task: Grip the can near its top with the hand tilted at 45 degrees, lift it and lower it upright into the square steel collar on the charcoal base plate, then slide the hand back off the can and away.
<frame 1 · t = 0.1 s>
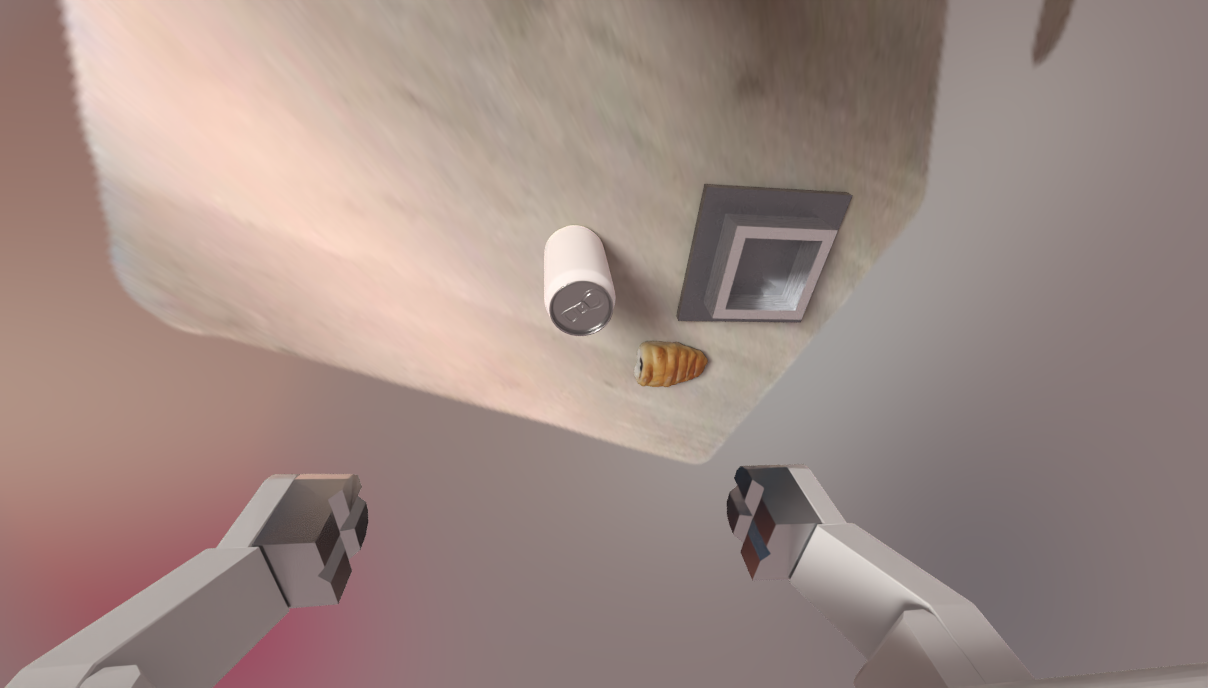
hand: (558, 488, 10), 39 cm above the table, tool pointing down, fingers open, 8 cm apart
collar: (755, 258, 51), on the table
pastry: (663, 356, 59), on the table
can: (574, 251, 48), on the table
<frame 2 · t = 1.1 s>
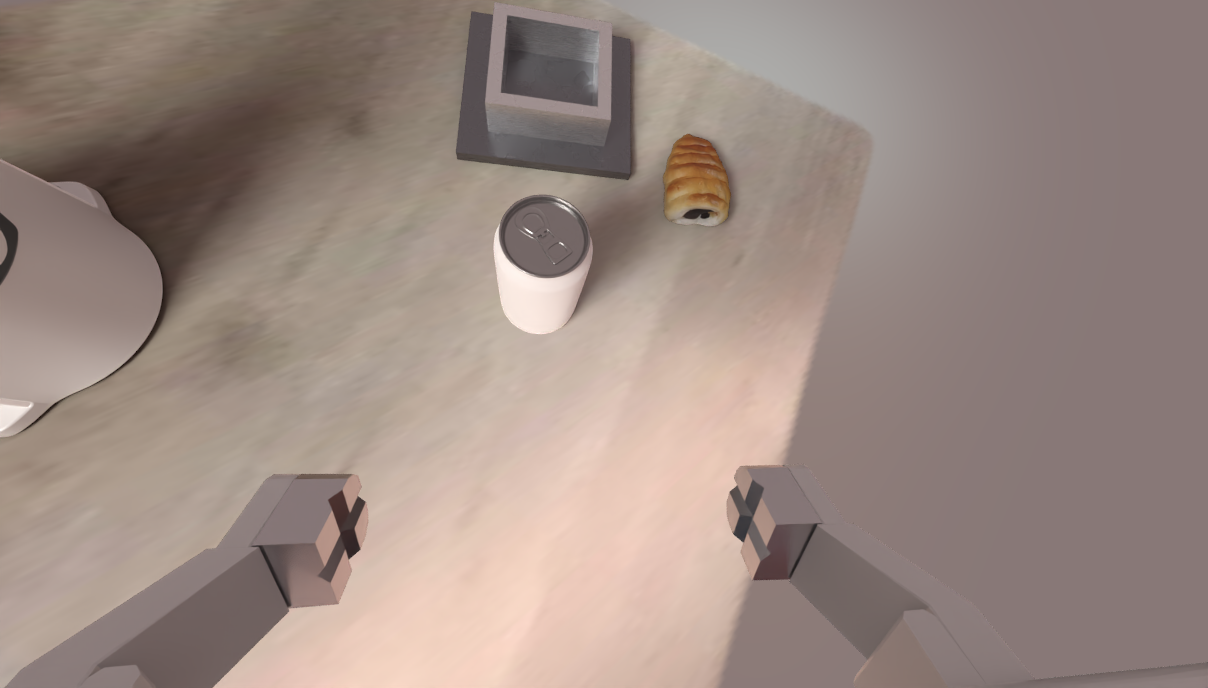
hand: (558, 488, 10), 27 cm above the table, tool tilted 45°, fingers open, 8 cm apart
collar: (549, 99, 44), on the table
pastry: (688, 194, 44), on the table
can: (538, 300, 39), on the table
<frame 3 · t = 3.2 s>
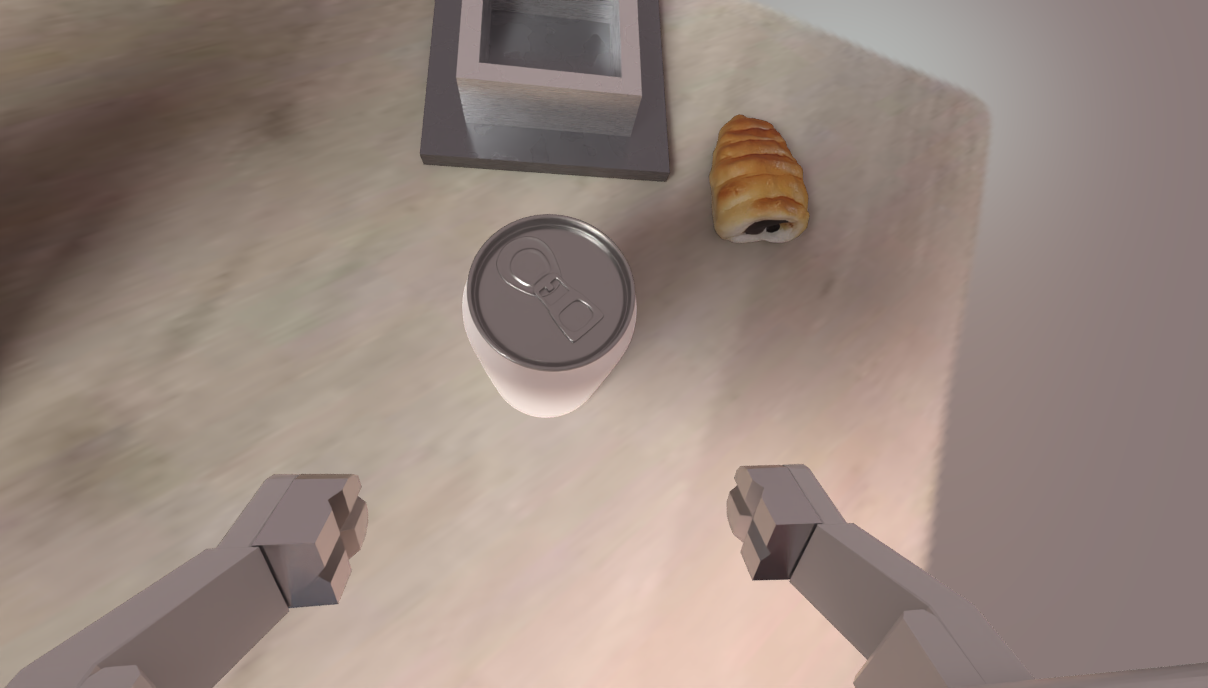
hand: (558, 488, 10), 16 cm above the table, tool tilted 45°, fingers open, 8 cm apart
collar: (550, 75, 31), on the table
pastry: (743, 198, 32), on the table
can: (546, 364, 26), on the table
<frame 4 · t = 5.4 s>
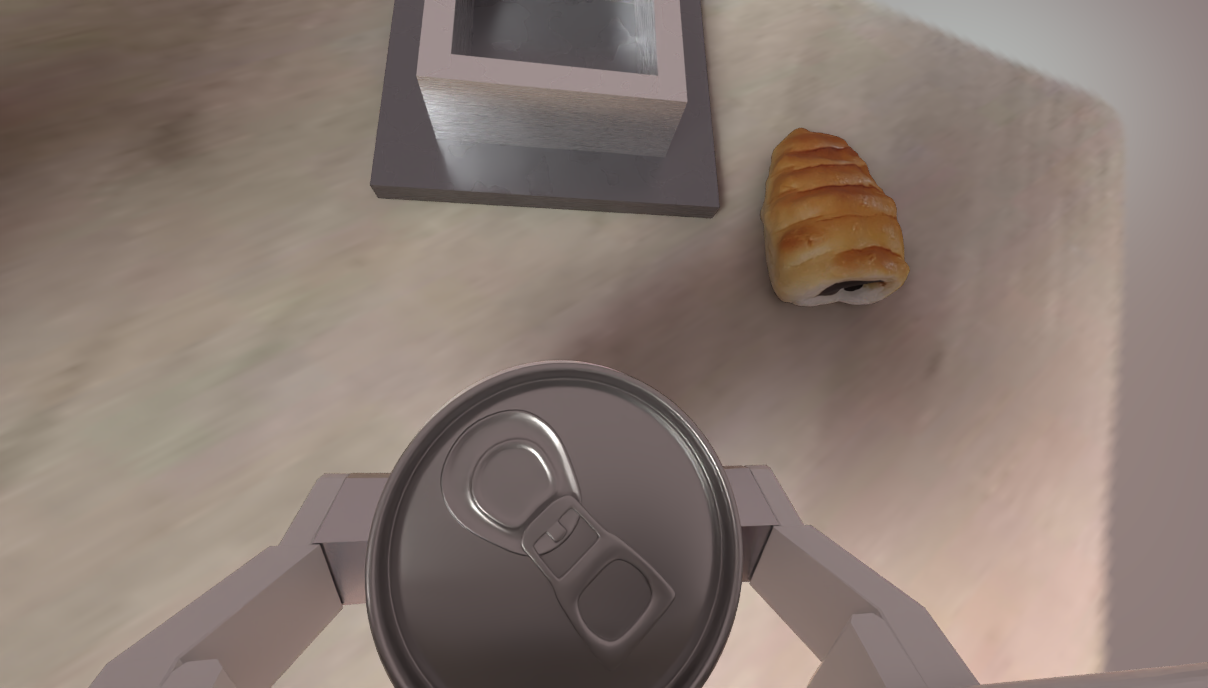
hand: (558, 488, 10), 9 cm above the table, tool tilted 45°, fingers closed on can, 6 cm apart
collar: (555, 74, 23), on the table
pastry: (806, 241, 23), on the table
can: (549, 491, 18), on the table, touching gripper
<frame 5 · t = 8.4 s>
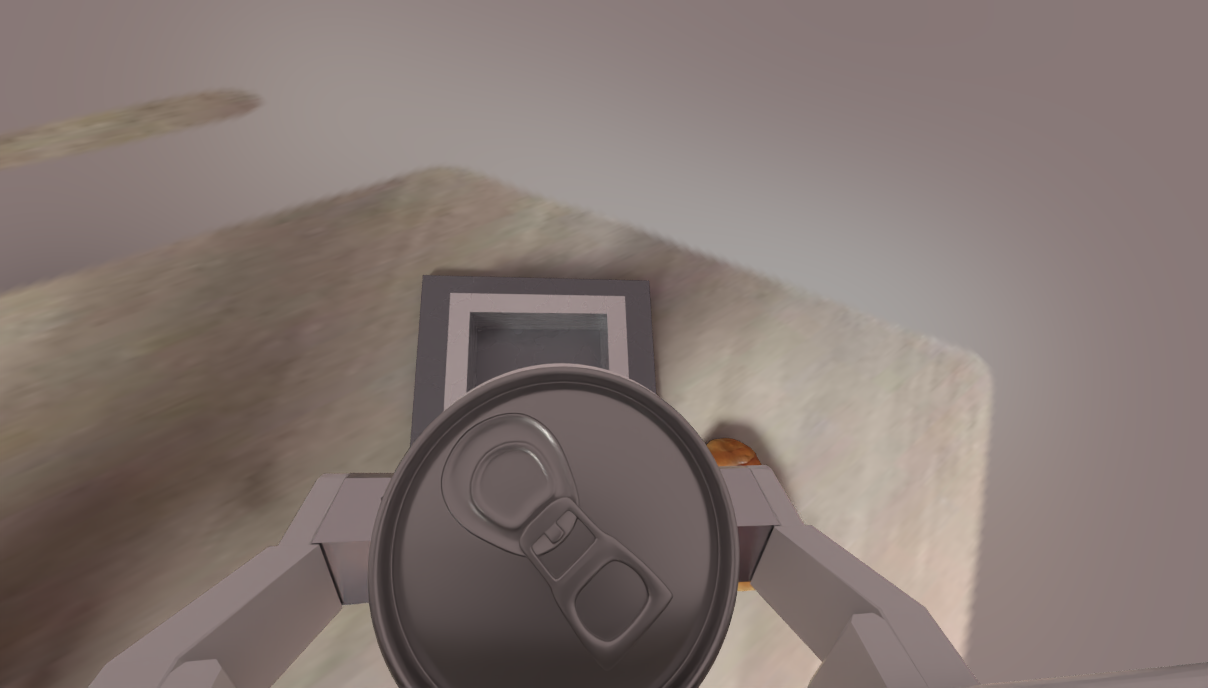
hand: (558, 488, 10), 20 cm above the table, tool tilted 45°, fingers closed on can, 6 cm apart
collar: (539, 391, 31), on the table
pastry: (725, 518, 31), on the table
can: (559, 491, 18), point 11 cm above the table, touching gripper
when the fingers open (11 cm above the table, at t = 11.7 s): can stays where it is, resting on collar.
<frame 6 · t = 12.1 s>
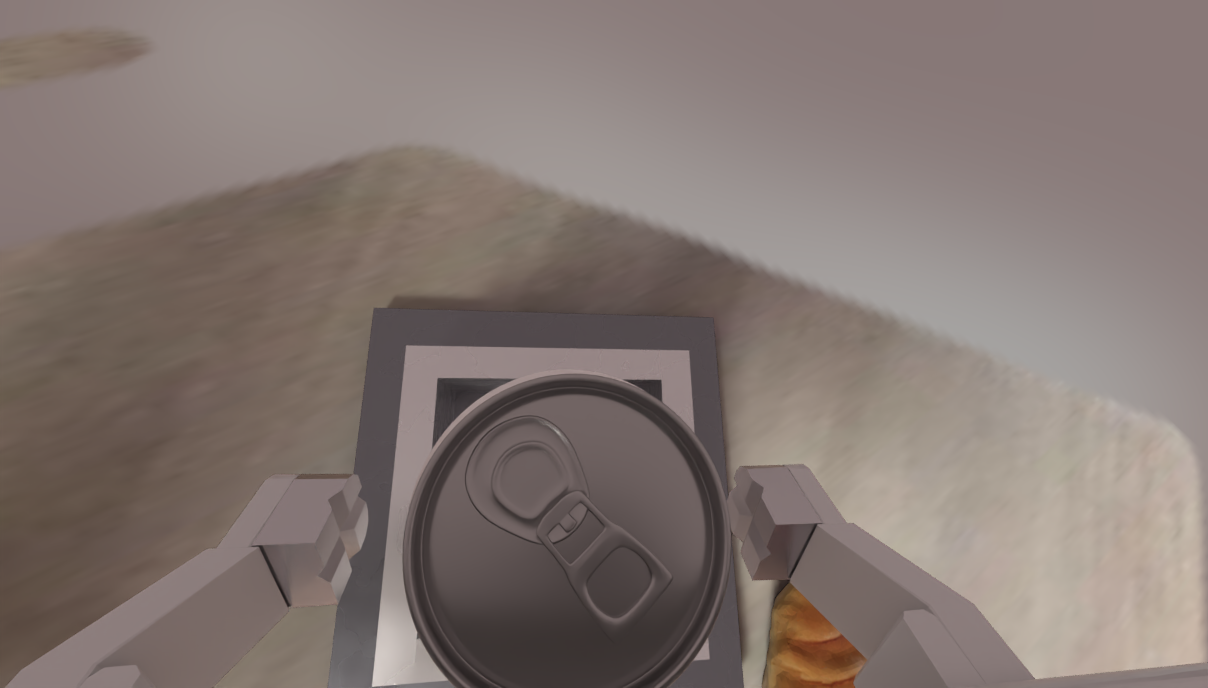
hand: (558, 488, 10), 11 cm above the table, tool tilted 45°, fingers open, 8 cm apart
collar: (549, 488, 20), on the table
can: (554, 489, 19), point 1 cm above the table, touching collar
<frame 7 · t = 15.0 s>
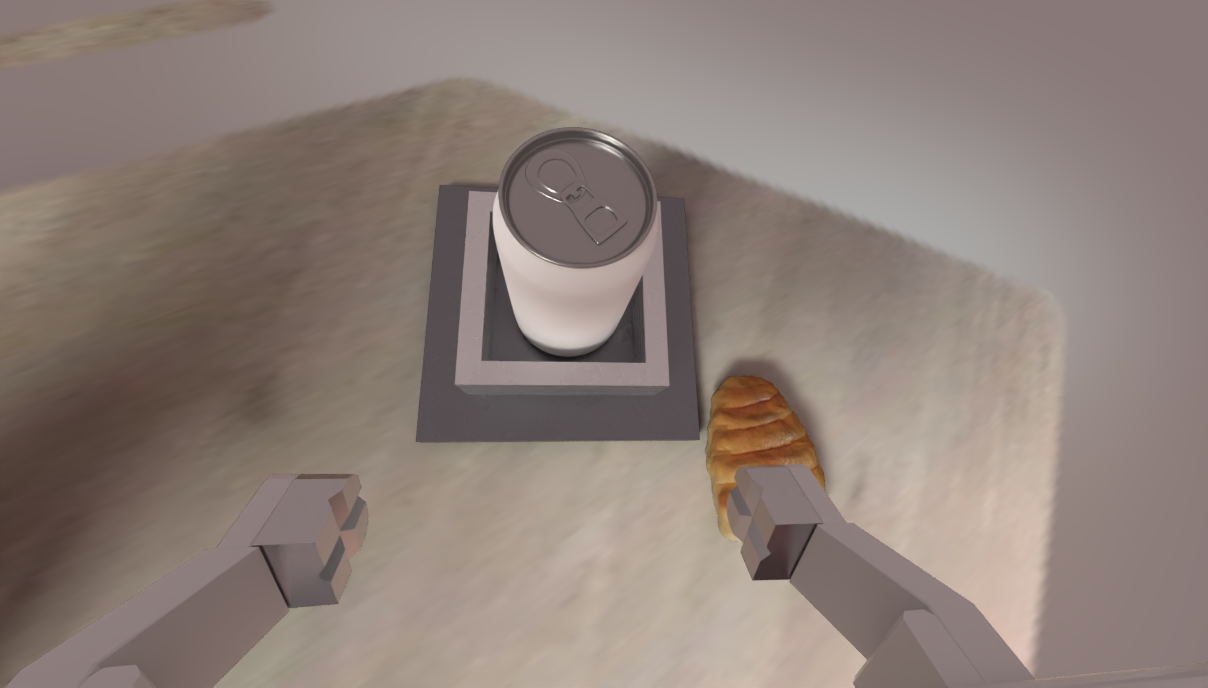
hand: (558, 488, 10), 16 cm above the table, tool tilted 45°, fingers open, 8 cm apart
collar: (563, 312, 28), on the table
pastry: (747, 465, 27), on the table
can: (567, 308, 27), point 1 cm above the table, touching collar
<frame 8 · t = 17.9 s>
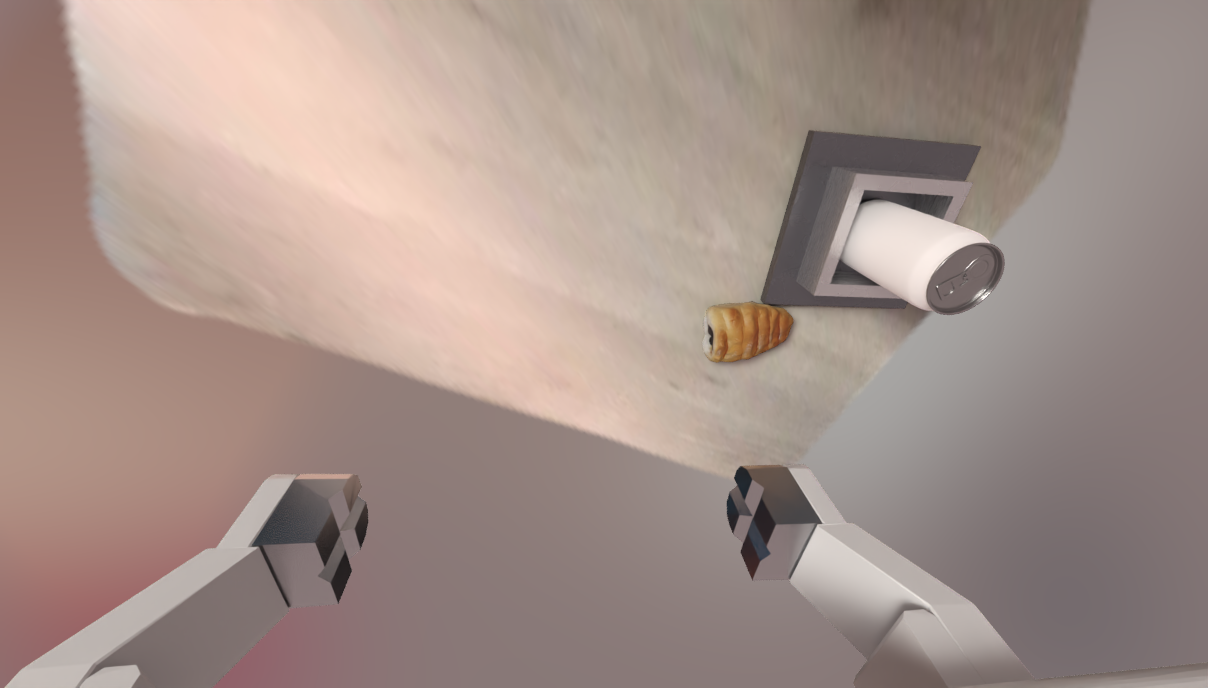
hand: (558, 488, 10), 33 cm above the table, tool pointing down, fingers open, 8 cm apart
collar: (859, 227, 43), on the table
pastry: (735, 323, 48), on the table
can: (863, 232, 43), point 1 cm above the table, touching collar
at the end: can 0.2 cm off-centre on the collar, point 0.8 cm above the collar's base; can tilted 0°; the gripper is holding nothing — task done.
